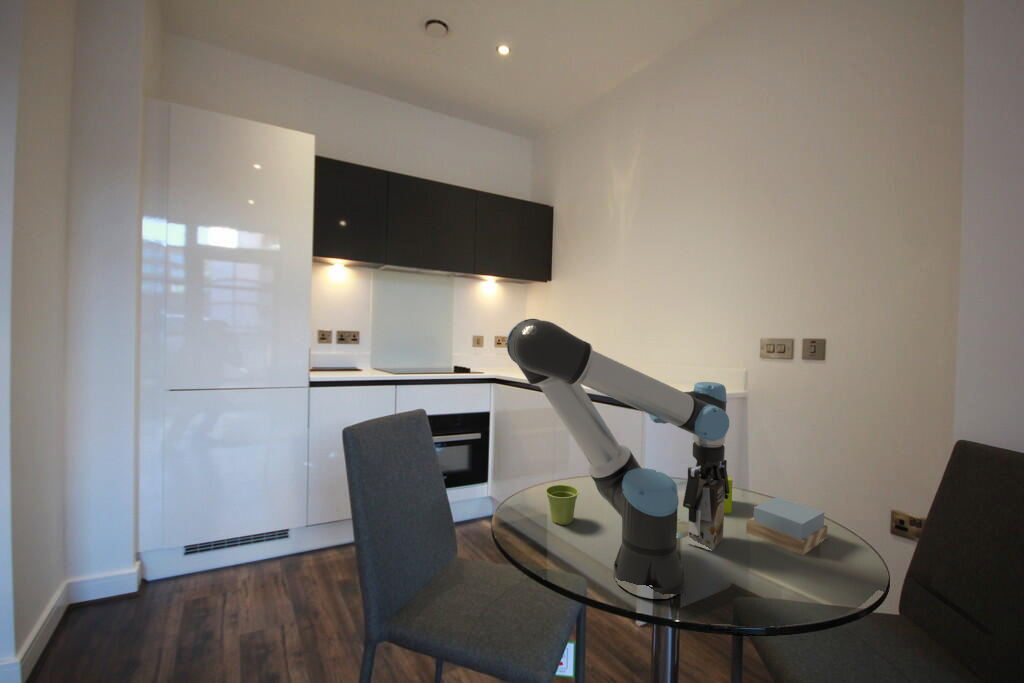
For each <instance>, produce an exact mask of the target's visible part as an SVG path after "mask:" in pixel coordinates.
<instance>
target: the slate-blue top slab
mask: <svg viewBox="0 0 1024 683" xmlns="http://www.w3.org/2000/svg"><path fill="white" fill-rule="evenodd" d="M753 517H754V519H753V522H756V523H758V524H761V525H764V526H766V527H769V528H771V529H774V530H777V531H779V532H782V533H784V534H787V535H790V536H792V537H795V538H798V539H800V540H802V539H804V538H806V537H807V536H809V535H811V534H813V533H814V532H816V531H818V530H819V529H821V528H823V527H824V525H825V511H823V510H819V509H817V508H814V507H810V506H807V505H804V504H800V503H798V502H795V501H792V500H788V499H786V498H782V497H779V496H775V497H774V498H771V499H768V500H767V501H764V502H762V503H760V504H758V505H756V506H754V507H753Z"/></svg>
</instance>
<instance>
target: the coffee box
mask: <svg viewBox="0 0 1024 683" xmlns="http://www.w3.org/2000/svg"><path fill="white" fill-rule="evenodd" d="M700 479H701V478H700ZM720 479H721V478H720ZM701 480H703V479H701ZM698 487H700V485H699V486H698ZM701 487H702V486H701ZM724 498H725V479H721V480H714V479H711V480H709V484H708V485H705V486H703V492H702V499H701V502H700V505H699V508H698V509H700V510H701V512H700V535H699V536H697V535H695V534H693V533H690V532H687V534H688V533H689V537H690V538H692V539H693V540H694V541H697V542H698V543H700V544H702V545H705V546H706V547H708V548H709V549H711V550H713V549H714V548H715V547H716V548H717V547H718V546H719V544H720V543H721V542H722V540H724V522H725V521H724V520H725V513H724ZM688 530H689V525H688V529H687V531H688ZM716 548H715V549H716ZM715 549H714V550H715ZM714 550H713V551H714Z"/></svg>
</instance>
